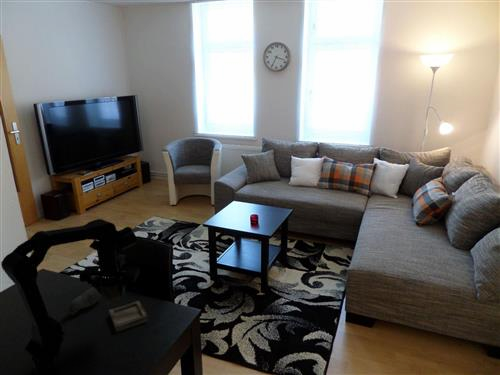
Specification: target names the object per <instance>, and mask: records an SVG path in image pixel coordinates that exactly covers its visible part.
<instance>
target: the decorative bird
mask: <svg viewBox="0 0 500 375" xmlns="http://www.w3.org/2000/svg"><path fill="white" fill-rule="evenodd" d="M102 297H103V296H102V295H101V294H100V293H99V292H98V291H97V290H96V289H95V288H94V287H93V286H91V287H90V288H88V289H86V290H85V291H84V292H83V293H82V294H81V295H80V296H77V297H75V298H74V299H73V300H72V301H71V303H70V305H69V312H70V313H69V314H70V315H71V316H72V317H73V316H74V315H75V314H76V313H77V312H78V311H79V310H80V309H87V308H88V307H92V306H94V305H95V304H96V302H98V301H99V300H100V299H101V298H102Z"/></svg>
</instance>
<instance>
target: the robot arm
mask: <svg viewBox="0 0 500 375" xmlns="http://www.w3.org/2000/svg"><path fill="white" fill-rule="evenodd" d="M87 240H88V241H91V240H93V241H92V243H90V244H89V248H90V249H92V250H94V251H96V253H97V259H98V260H97V262H96V266H94V265H93V266H92V265H87V266H86V267H85V268H83V270H82V271H81V272H80V273H79V276H78V278H79V282H80V283H81V282H82V283H84V282H85V283H87V284H88V285H90V286H91V287H94V288H95V289H96V290H97V291H98V292H99V293H100V294H101V295H102V296H101V297H104V296H103V294H102V292H101V289H100V285H99V282H100V283H101V281H100V280H102V279H103V277H105V278H106V277H108V278H109V277H120V278H121V280H120V282H119V283H118V286H119V291H120V295H119V296H120V297H121V298H122V297H124V294H125V290H126V288H127V285H129V284H134V283H135V282H136V281H137V279H138V278H139V276H140V275H141V274H140V269H139V268H138V267H127V268H126V269H125V270H121V269H122V268H123V267H122V265H125V264H126V255H125V254H117V250H118V251H123V250H125V249H127V248H130V247H132V246H134V245H136V244H137V241H138V237H137V236H136V234H135V232H134V231H133V228H132V227H130V226H126V227H123V228H122V229H120V230H118V229H117V227H116V225H115V224H114V223H113V222H110V221H107V220H105V219H102V218H97V219H94V220H91V221H88V222H87V223H86V224H83V225H79V226H71V227H64V228H58V229H51V230H45V231H43V230H40V231H37V232H35V233H34V234H33V235H32V236H31V237H30V238H29V239H27V240H26V241H23V242H22V243H20V244H19V245H17V246H16V248H15V249H13V251H11V252H10V253H8V254H7V255H5V256H4V257H3V260H2V261H1V263H0V265H1V269H2V270H3V271H4V273H5V274H6V276H7V277H8V279H10V280H11V281H12V283H13V284H14V285H15V286H16V288H17V290H18V293H19V295H20V297H21V300H22V302H23V305H24V307H25V310H26V311H27V314H28V316H29V319H30V322H31V328H30V329H31V330H30V332H31V333H30V334H31V339H30V340H29V342H28V343H27V345H26V346H25V348H24V351H25V352H26V353H27V354H28V355H30V356H31V359H32V360H31V361H32V365H33V375H59V374H60V365H59V364H60V363H59V359H58V358H57V357H59V354H60V351H61V345H62V343H63V341H64V335H65V332H64V331H63V327H62V323H61V322H59V321H58V320H56V319H54V317H52V316H50V315H49V312H48V310H47V308H46V305H45V302H44V299H43V296H42V294H41V291H40V289H39V286H38V284H37V280H38V275H39V273H38V267H39V266H40V265H41V263H42V262H44V259H45V257H46V255H47V253H48V251H49V250H50V249H51V247H55V246H60V245H65V244H70V243H71V244H72V243H76V242H81V241H87ZM30 253H31V255H29V256H28V254H30Z"/></svg>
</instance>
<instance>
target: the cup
mask: <svg viewBox="0 0 500 375" xmlns="http://www.w3.org/2000/svg"><path fill="white" fill-rule="evenodd" d="M120 280H121V278H120V277H103V279H102V280H100V281H101V283H100V282H99V285H100V289H101V292H102V294H103V296H102V297H103V298H105V299H107V301H108V302H109V303H116V302H117V301H118V300H119V298H120V297H119V296H121V295H120V291H119V286H118V283H119V282H120Z"/></svg>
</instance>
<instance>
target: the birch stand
mask: <svg viewBox="0 0 500 375" xmlns="http://www.w3.org/2000/svg"><path fill="white" fill-rule="evenodd" d="M109 315H110V319H111V322H112V324H113V327H114V329H115V331H116V332H118V333H119V332H122V331H123V330H126V329H128V328H129V329H130V328H132V327H134V326H138V325H140V324H141V325H142V324H143V323H146V322H148V321H149V320H148V315H147V313H146V310H145V309H144V307H143V305H142V304H141V302H140V300H137V301H134V302H133V301H132V302H131V303H127V304H123V305H121V306H118V307H115V308H112V309H109ZM116 332H115V333H116Z"/></svg>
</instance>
